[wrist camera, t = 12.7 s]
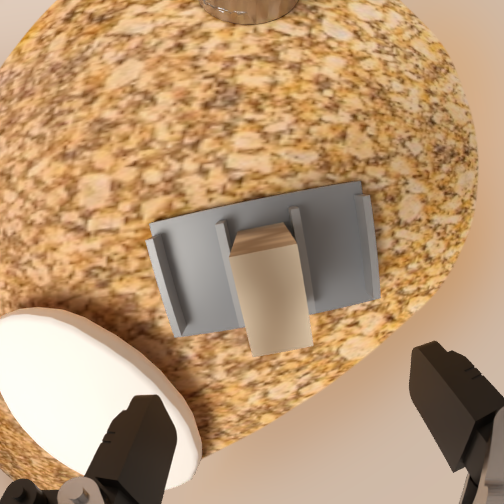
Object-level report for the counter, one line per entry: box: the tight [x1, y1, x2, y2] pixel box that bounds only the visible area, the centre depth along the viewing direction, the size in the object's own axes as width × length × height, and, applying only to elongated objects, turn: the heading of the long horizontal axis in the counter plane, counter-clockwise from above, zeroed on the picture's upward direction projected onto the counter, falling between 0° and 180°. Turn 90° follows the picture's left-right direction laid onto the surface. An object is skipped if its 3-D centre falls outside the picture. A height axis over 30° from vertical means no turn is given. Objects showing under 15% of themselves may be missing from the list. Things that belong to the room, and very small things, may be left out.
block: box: [229, 222, 313, 357], centre depth 20 cm, size 4×6×8 cm, turn 12°
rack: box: [145, 181, 381, 338], centre depth 23 cm, size 17×10×3 cm, turn 102°
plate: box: [0, 307, 202, 490], centre depth 26 cm, size 28×6×27 cm
